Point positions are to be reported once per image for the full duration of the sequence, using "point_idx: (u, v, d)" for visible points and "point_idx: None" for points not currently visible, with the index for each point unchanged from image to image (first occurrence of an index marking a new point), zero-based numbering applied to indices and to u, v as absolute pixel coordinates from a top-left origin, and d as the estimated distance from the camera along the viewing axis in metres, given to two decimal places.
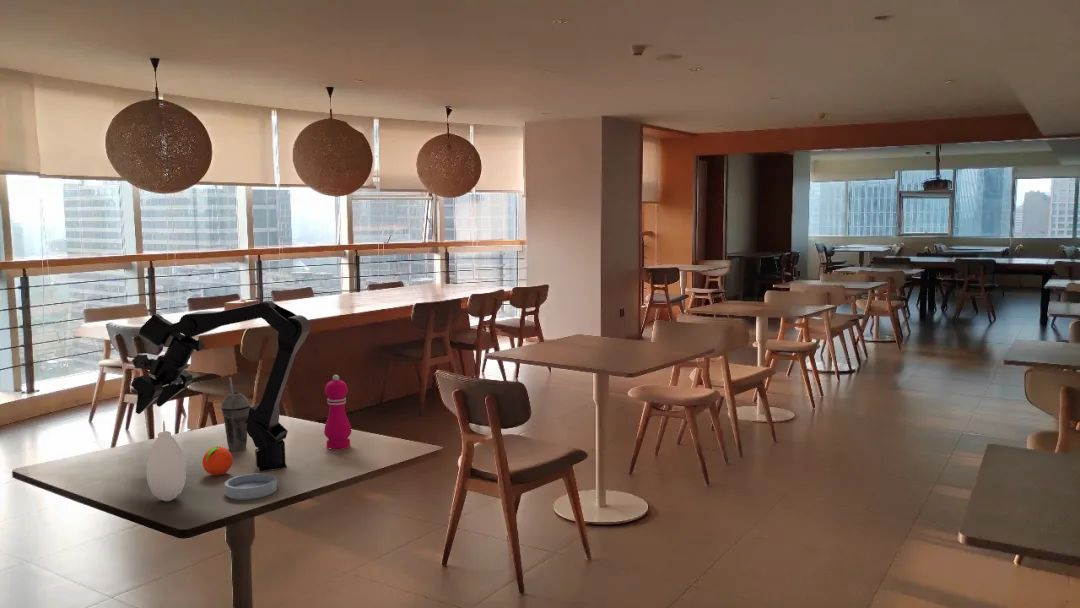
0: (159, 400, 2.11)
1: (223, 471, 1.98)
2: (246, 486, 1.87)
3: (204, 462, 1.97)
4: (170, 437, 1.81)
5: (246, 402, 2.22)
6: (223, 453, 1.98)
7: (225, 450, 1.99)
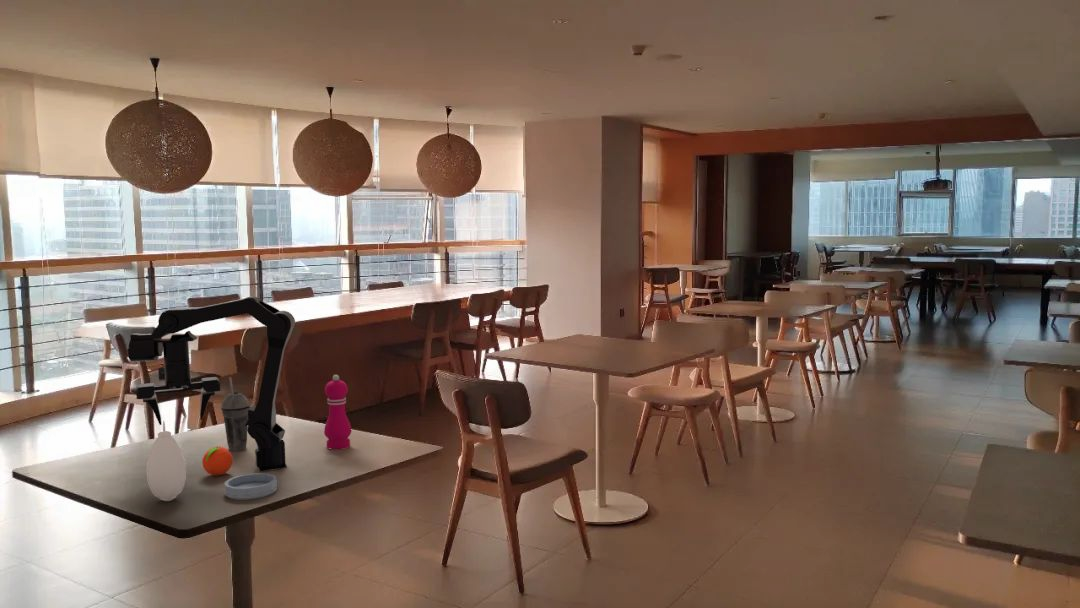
0: None
1: (223, 471, 1.98)
2: (246, 486, 1.87)
3: (204, 462, 1.97)
4: (170, 437, 1.81)
5: (246, 402, 2.22)
6: (223, 453, 1.98)
7: (225, 450, 1.99)
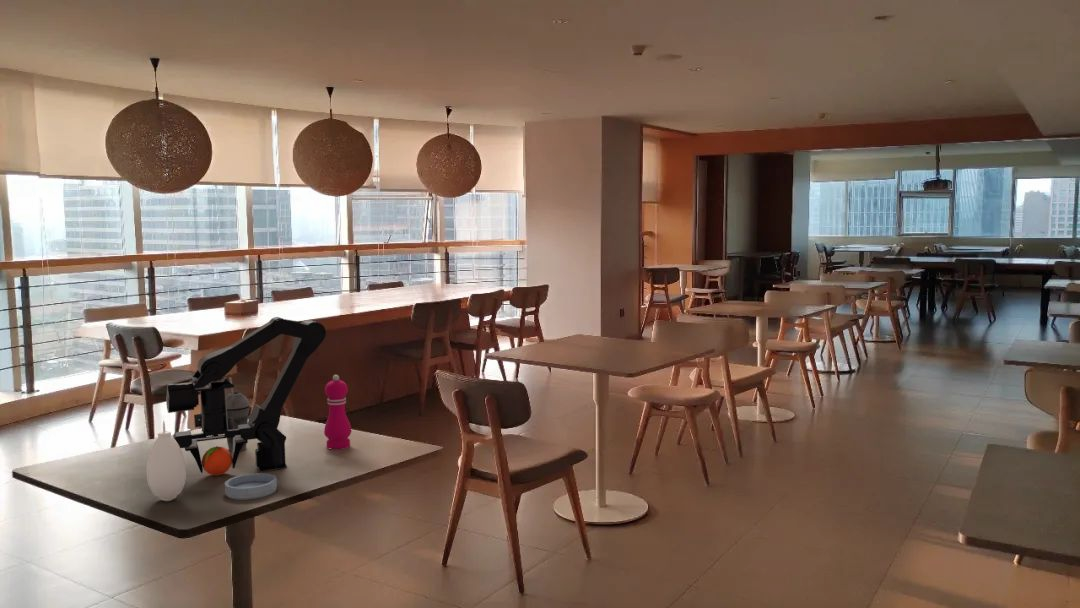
0: (232, 461, 2.01)
1: (222, 471, 1.98)
2: (246, 486, 1.87)
3: (203, 462, 1.97)
4: (170, 437, 1.81)
5: (246, 402, 2.22)
6: (223, 453, 1.98)
7: (224, 450, 1.99)
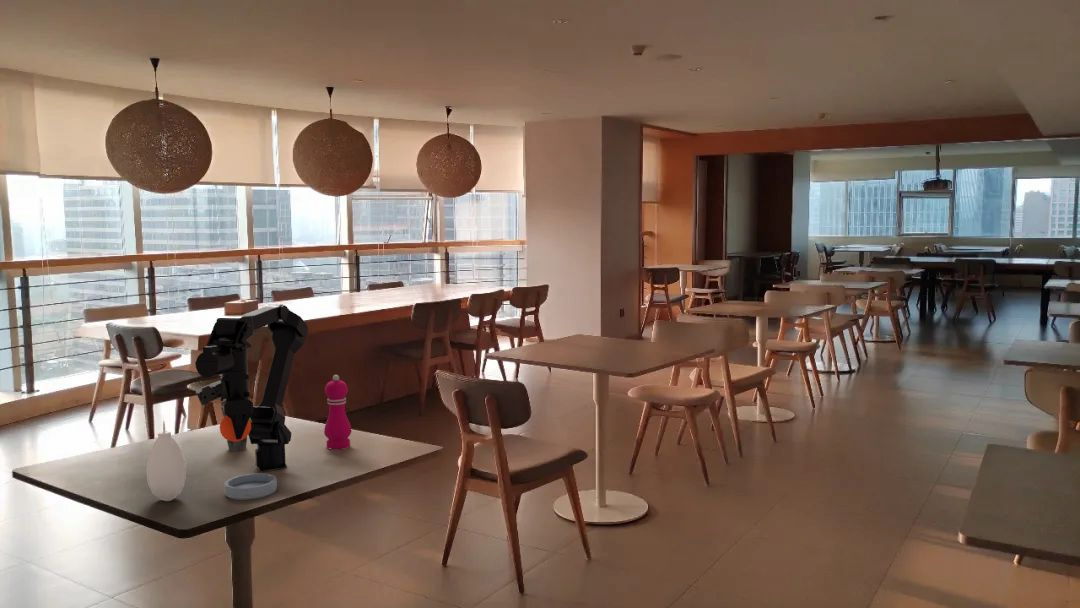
0: None
1: None
2: (246, 486, 1.87)
3: None
4: (170, 437, 1.81)
5: None
6: None
7: None
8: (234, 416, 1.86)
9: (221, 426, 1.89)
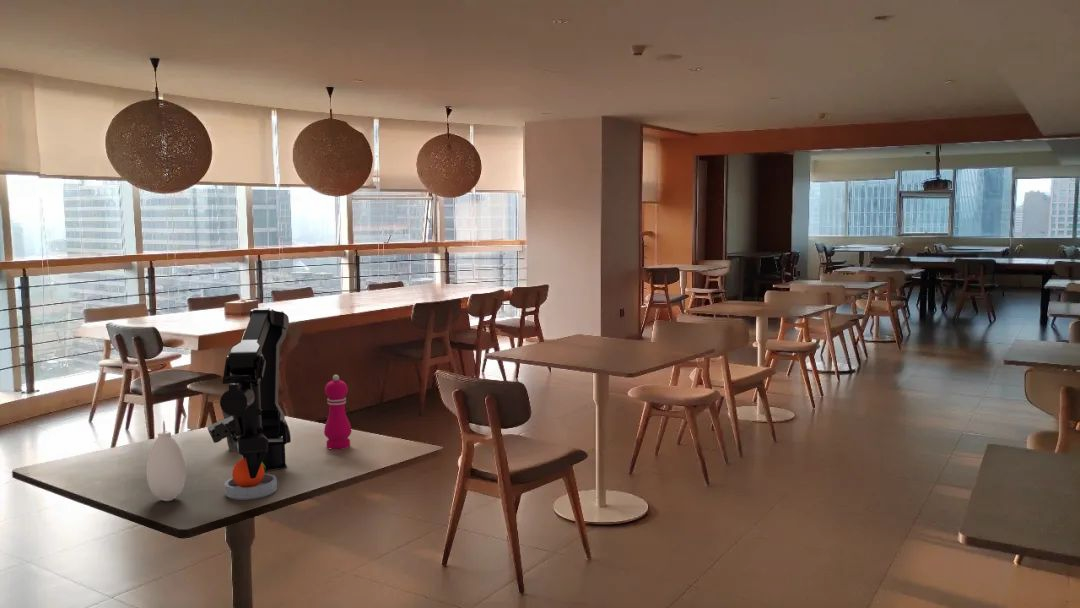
0: None
1: None
2: None
3: None
4: (170, 437, 1.81)
5: None
6: None
7: None
8: (248, 455, 1.80)
9: (234, 473, 1.84)
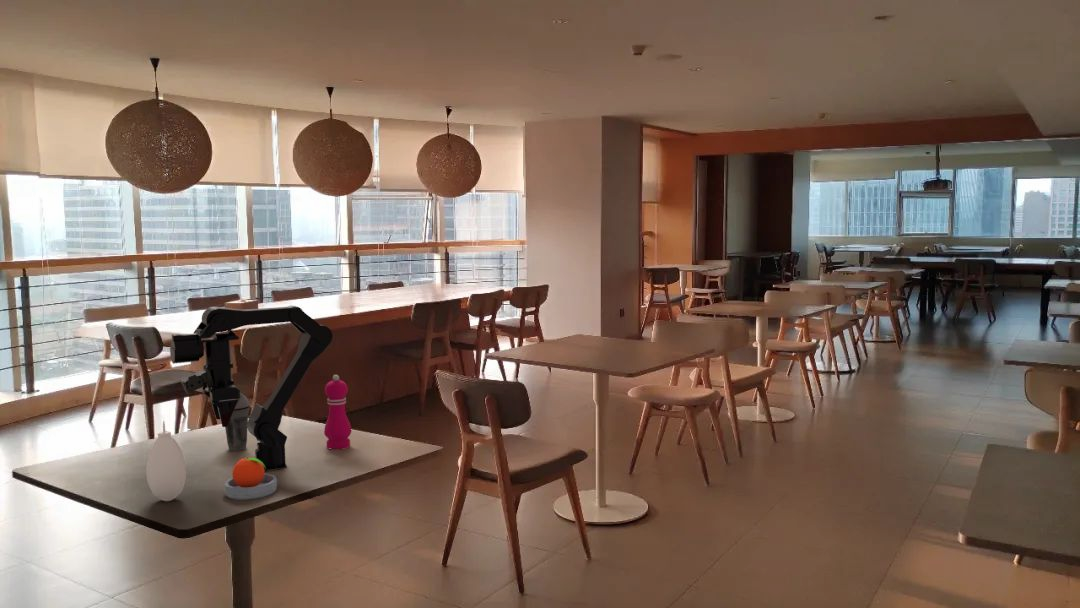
0: (216, 413, 2.02)
1: None
2: None
3: (256, 473, 1.84)
4: (170, 437, 1.81)
5: (246, 402, 2.22)
6: None
7: None
8: (221, 404, 1.92)
9: (234, 473, 1.84)
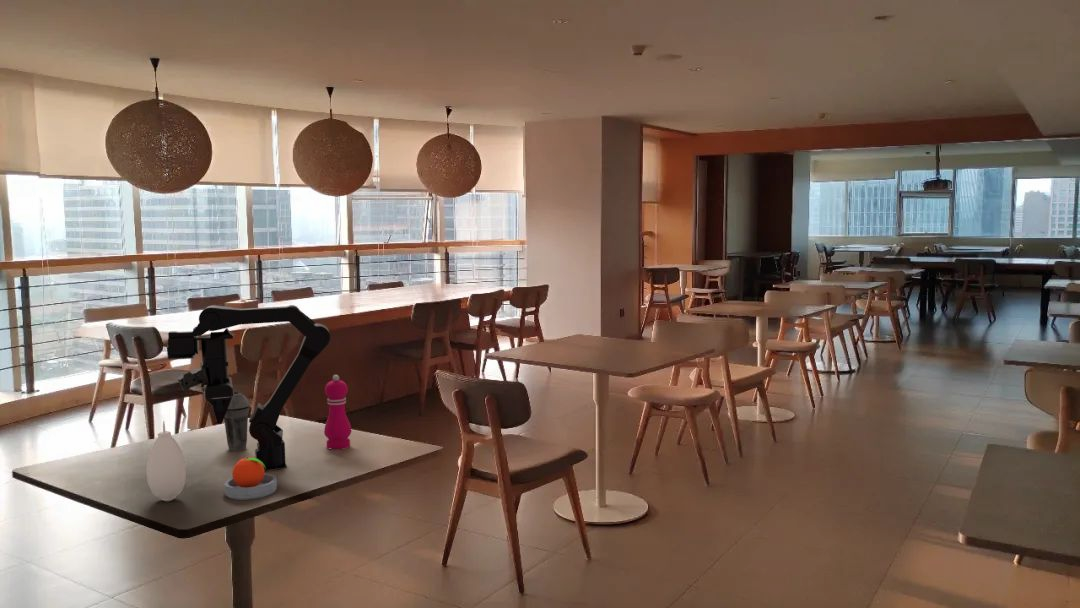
0: None
1: None
2: None
3: (256, 473, 1.84)
4: (170, 437, 1.81)
5: (246, 402, 2.22)
6: None
7: None
8: (215, 402, 1.95)
9: (234, 473, 1.84)
